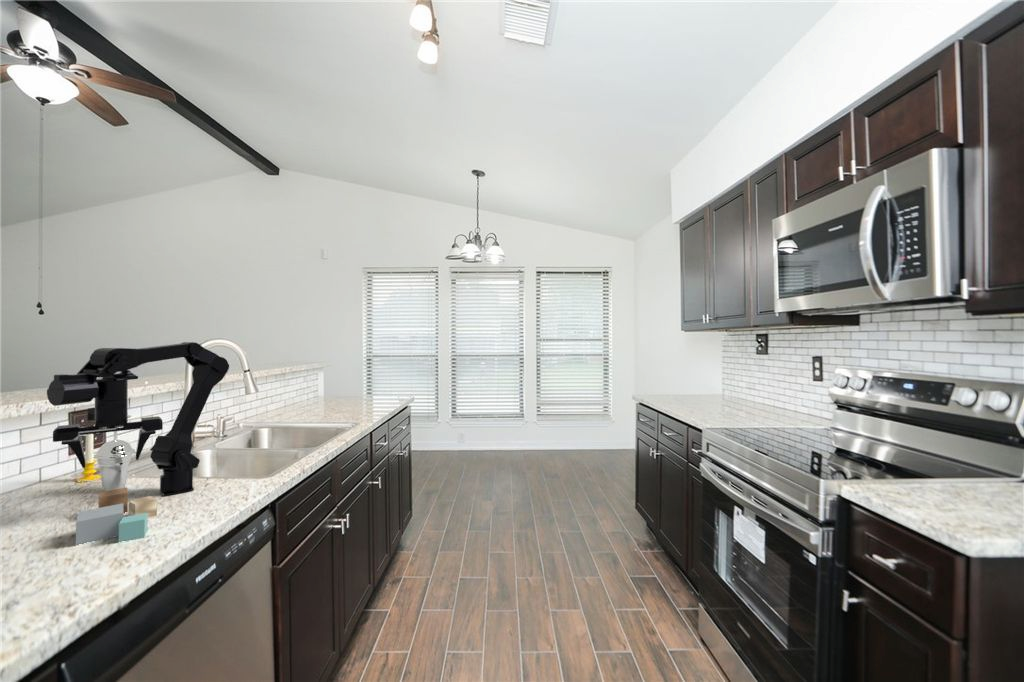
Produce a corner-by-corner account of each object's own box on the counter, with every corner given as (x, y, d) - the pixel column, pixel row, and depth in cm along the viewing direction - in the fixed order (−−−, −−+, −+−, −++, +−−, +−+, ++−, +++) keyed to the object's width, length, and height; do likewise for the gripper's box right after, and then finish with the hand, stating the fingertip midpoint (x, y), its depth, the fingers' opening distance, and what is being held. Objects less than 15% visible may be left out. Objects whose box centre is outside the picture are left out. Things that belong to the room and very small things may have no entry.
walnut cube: (126, 507, 103) (127, 487, 103) (127, 513, 100) (127, 492, 100) (98, 512, 100) (99, 492, 100) (98, 519, 96) (98, 497, 96)
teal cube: (147, 531, 90) (147, 512, 90) (144, 538, 87) (144, 519, 87) (122, 535, 88) (123, 517, 88) (118, 543, 85) (118, 523, 85)
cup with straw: (85, 493, 112) (86, 420, 112) (124, 482, 121) (125, 414, 121) (105, 496, 110) (106, 422, 110) (144, 485, 118) (145, 416, 118)
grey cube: (122, 525, 93) (123, 503, 93) (123, 535, 88) (123, 512, 88) (78, 535, 88) (78, 511, 88) (75, 546, 83) (76, 522, 83)
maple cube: (149, 512, 100) (150, 495, 100) (156, 515, 98) (157, 499, 98) (128, 518, 97) (128, 501, 97) (135, 522, 95) (135, 504, 95)
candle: (87, 476, 126) (88, 426, 126) (106, 476, 126) (106, 425, 126) (70, 482, 120) (71, 429, 120) (89, 482, 121) (90, 429, 121)
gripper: (159, 392, 112) (159, 449, 112) (57, 399, 99) (57, 464, 99) (162, 397, 104) (162, 458, 104) (52, 405, 91) (52, 475, 91)
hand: (111, 463), depth 100 cm, fingers open, 9 cm apart
